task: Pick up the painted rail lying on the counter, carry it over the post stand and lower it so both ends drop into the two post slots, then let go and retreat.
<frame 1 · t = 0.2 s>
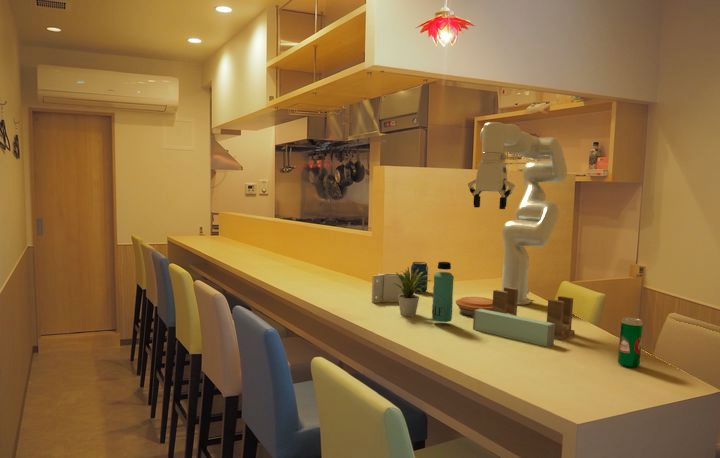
hand: (489, 208, 192), 37 cm above the counter, tool pointing down, fingers open, 9 cm apart
soda can 2: (418, 292, 226), on the counter
post stand: (530, 328, 174), on the counter
rail: (511, 336, 164), on the counter
beverage bottle: (441, 324, 175), on the counter
house plant: (407, 315, 185), on the counter
pie: (477, 313, 192), on the counter
hinge: (387, 301, 206), on the counter
soda can: (628, 366, 141), on the counter
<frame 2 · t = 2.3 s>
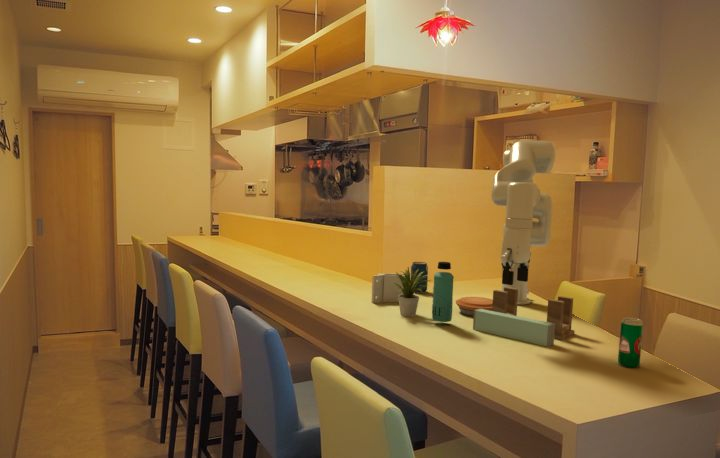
hand: (514, 282, 162), 16 cm above the counter, tool pointing down, fingers open, 9 cm apart
nothing on the counter moved.
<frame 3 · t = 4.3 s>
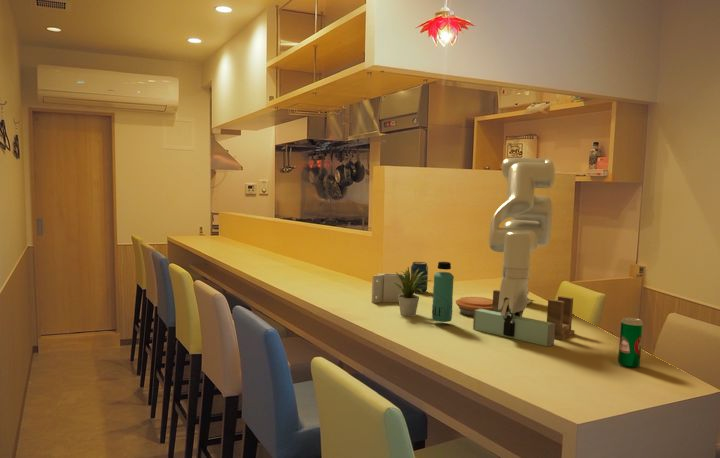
hand: (511, 333, 164), 1 cm above the counter, tool pointing down, fingers closed on rail, 3 cm apart
rail: (511, 336, 164), on the counter, touching gripper
everything else where it was.
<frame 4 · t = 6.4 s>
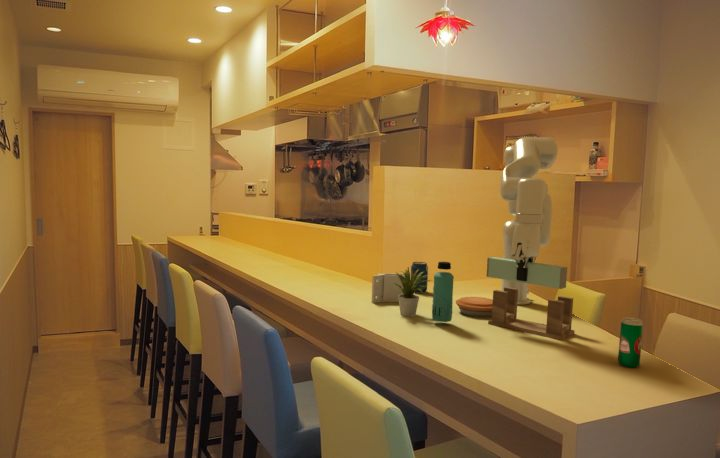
hand: (524, 279, 168), 16 cm above the counter, tool pointing down, fingers closed on rail, 3 cm apart
rail: (524, 281, 168), point 16 cm above the counter, touching gripper
everything else where it was.
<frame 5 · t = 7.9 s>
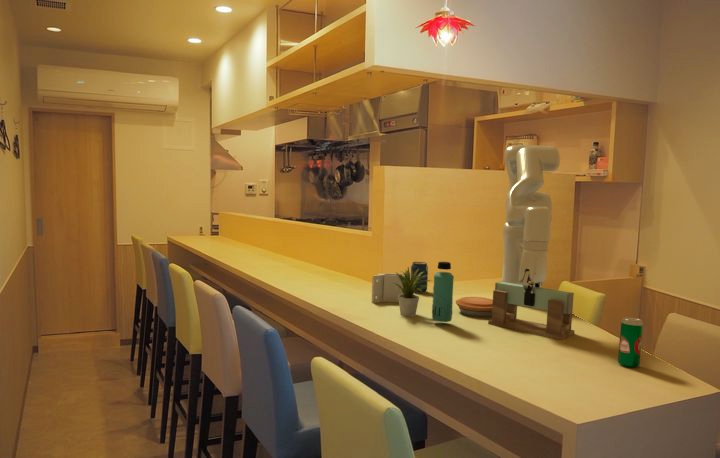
hand: (531, 304, 173), 8 cm above the counter, tool pointing down, fingers closed on rail, 3 cm apart
rail: (531, 306, 173), point 7 cm above the counter, touching gripper
everything else where it was.
when the fingers open (5 cm above the counter, at t = 8.7 s): rail drops 1 cm, resting on post stand.
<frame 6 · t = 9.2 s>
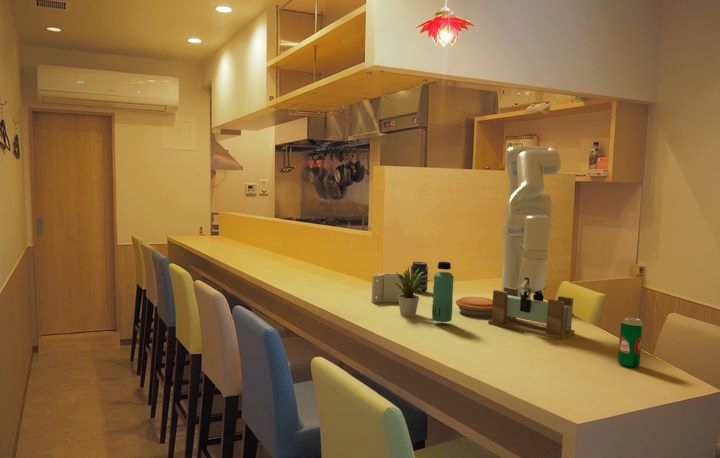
hand: (531, 309, 173), 6 cm above the counter, tool pointing down, fingers open, 8 cm apart
rail: (530, 319, 173), point 3 cm above the counter, touching post stand
everything else where it was.
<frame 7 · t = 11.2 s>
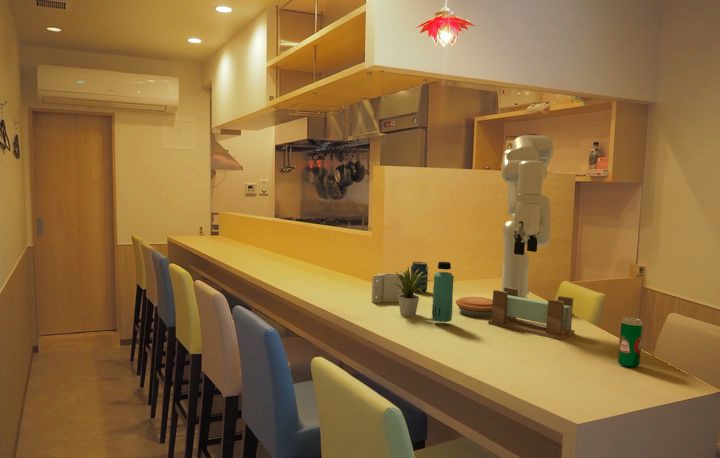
hand: (525, 252, 177), 23 cm above the counter, tool pointing down, fingers open, 9 cm apart
nothing on the counter moved.
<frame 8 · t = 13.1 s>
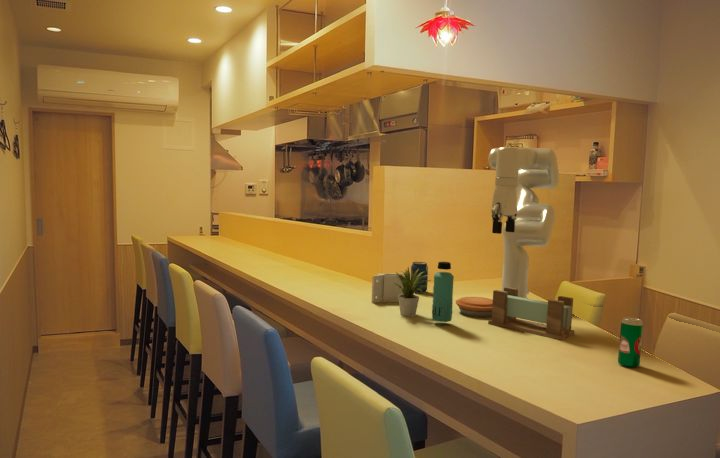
hand: (503, 232, 191), 28 cm above the counter, tool pointing down, fingers open, 9 cm apart
nothing on the counter moved.
at the end: rail 0.0 cm off-centre on the post stand, point 3.0 cm above the post stand's base; rail tilted 0°; the gripper is holding nothing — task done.
